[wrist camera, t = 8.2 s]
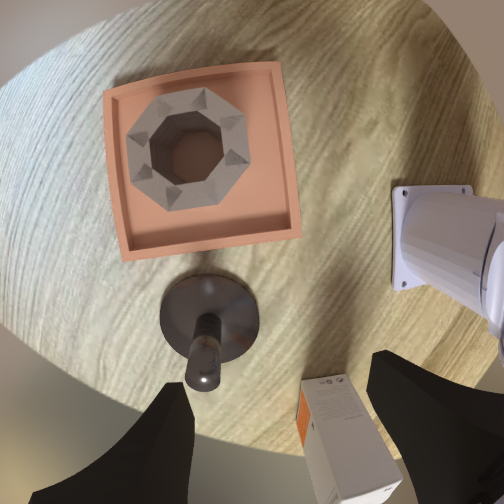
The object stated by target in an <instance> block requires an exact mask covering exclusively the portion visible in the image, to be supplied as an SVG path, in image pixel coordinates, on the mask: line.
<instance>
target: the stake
mask: <svg viewBox="0 0 504 504" xmlns="http://www.w3.org/2000/svg"><path fill="white" fill-rule="evenodd" d="M259 324H260V322H259V314H258V309H257V306H256V304H255V302H254V300H253V298H252V296H251V295H250V294H249V292H248V291H247V290H246V289H245V288H244V287H242V286H241V285H240V284H238V283H237V282H235V281H233V280H231V279H229V278H227V277H223V276H220V275H214V274H200V275H195V276H191V277H188V278H186V279H184V280H182V281H180V282H179V283H177V284H176V285H175V286H174V287H173V288H172V289H171V290H170V291H169V292H168V294H167V296H166V297H165V299H164V301H163V303H162V306H161V310H160V326H161V330H162V333H163V335H164V337H165V339H166V340H167V342H168V343H169V345H170V346H171V347H172V348H173V349H174V350H175V351H176V352H178V353H179V354H181V355H182V356H184V357H186V358H187V359H188V363H187V368H186V373H185V381H186V383H187V384H188V386H189V387H191V388H192V389H194V390H196V391H200V392H209V391H212V390H214V389H216V388H217V387H218V386H219V384H220V371H221V363H225V362H229V361H231V360H234V359H236V358H238V357H240V356H241V355H243V354H244V353H245V352H246V351H247V350H248V349H249V348H250V347H251V346H252V345H253V343H254V341H255V340H256V337H257V335H258V331H259Z"/></svg>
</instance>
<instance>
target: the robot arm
mask: <svg viewBox="0 0 504 504" xmlns="http://www.w3.org/2000/svg"><path fill="white" fill-rule="evenodd" d="M403 190H404V191H405V195H404V196H403ZM392 202H393V274H392V288H393V289H394V290H395V291H401V290H405V289H409V288H413V287H417V286H421V285H424V284H429V285H431V286H433V287H434V288H436V289H438V290H440V291H441V292H443V293H445V294H446V295H448V296H450V297H451V298H453V299H455V300H456V301H458V302H460V303H461V304H463V305H465V306H466V307H468V308H469V309H471V310H473V311H474V312H476V313H477V314H479V315H481V316H482V317H484V318H485V319H487V320H488V323H489V328H488V332H489V333H490V334H492V335H493V336H494V337H496V338H497V339H499V345H498V353H499V358H500V361H501V363H502V365H503V367H504V200H501V199H495V198H488V197H482V196H475V195H473V189H472V187H471V186H470V185H420V186H396V187H394V188H393V190H392ZM403 282H404V284H403V285H402V283H403ZM366 391H367V394H368V396H369V399H370V401H371V404H372V406H373V408H374V410H375V412H376V414H377V415H378V417H379V419H380V420H381V422H382V424H383V425H384V427H385V429H386V430H387V432H388V433H389V435H390V437H391V438H392V440H393V442H394V443H395V445H396V447H397V448H398V450H399V452H400V454H401V456H402V458H403V460H404V463H405V465H406V468H407V470H408V472H409V475H410V478H411V481H412V483H413V486H414V489H415V493H416V496H417V499H418V503H419V504H504V394H499V393H493V392H487V391H482V390H478V389H473V388H470V387H467V386H463V385H460V384H457V383H455V382H452V381H449V380H447V379H445V378H442V377H440V376H438V375H435V374H433V373H431V372H429V371H427V370H425V369H423V368H421V367H419V366H417V365H415V364H413V363H411V362H409V361H408V360H406V359H404V358H402V357H400V356H398V355H396V354H394V353H392V352H390V351H388V350H383V351H379V352H376V353H373V355H372V361H371V368H370V373H369V379H368V384H367V389H366ZM194 436H195V418H194V415H193V412H192V409H191V406H190V403H189V401H188V398H187V395H186V392H185V389H184V386H183V382H174V383H166V384H165V385H164V387H163V388H162V389H161V391H160V392H159V393H158V395H157V396H156V397H155V399H154V400H153V401H152V403H151V404H150V405H149V407H148V408H147V409H146V410H145V412H144V413H143V414H142V416H141V417H140V418H139V419H138V420H137V422H136V423H135V424H134V425H133V426H132V427H131V428H130V429H129V431H128V432H127V433H126V434H125V435H124V436H123V437H122V438H121V439H120V440H119V441H118V442H117V443H116V444H115V445H114V446H113V447H112V448H111V449H110V450H108V451H107V452H106V453H105V454H104V455H102V456H101V457H100V458H99V459H97V460H96V461H94V462H93V463H92V464H90V465H89V466H88V467H86V468H84V469H83V470H81V471H80V472H78V473H77V474H75V475H73V476H71V477H69V478H67V479H65V480H63V481H62V482H59V483H57V484H55V485H52V486H50V487H47V488H44V489H42V490H39V491H36V492H33V494H32V496H31V498H30V501H29V503H28V504H187V503H188V502H187V495H188V484H189V475H190V469H191V461H192V455H193V447H194Z"/></svg>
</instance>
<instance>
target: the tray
mask: <svg viewBox="0 0 504 504" xmlns="http://www.w3.org/2000/svg"><path fill="white" fill-rule="evenodd" d="M202 87H206V88H208V89H209V90H211V91H212V92H214V93H215V94H217V95H218V96H219V97H221V98H222V99H224V100H225V101H227V102H228V103H230V104H231V105H232V106H234V107H235V108H237V109H238V110H239V111H241V112H242V113H244V114H245V118H246V126H247V134H248V142H249V151H250V159H251V164H250V166H249V167H248V168H247V169H246V170H245V172H244V173H243V174H242V175H241V177H240V178H239V179H238V180H237V182H236V183H235V184H234V186H233V187H232V188H231V189H230V191H229V192H228V193H227V194H226V196H225V197H224V198H223V200H222V201H221V202H220V204H218V205H211V206H204V207H198V208H191V209H184V210H178V211H172V212H168V211H166V210H165V209H164V208H162V207H161V206H160V205H158V204H157V203H156V202H155V201H153V200H152V199H151V198H149V197H148V196H147V195H145V194H144V193H143V192H141V191H140V190H139V189H137V188H136V187H135V186H134V185H132V184H131V183H130V175H129V166H128V157H127V146H126V134H127V133H128V132H129V130H130V129H131V128H132V126H133V125H134V124H135V122H136V121H137V120H138V118H139V117H140V116H141V114H142V113H143V112H144V110H145V109H146V108H147V107H148V105H149V104H150V103H151V102H152V101H153V99H154V98H155V97H157V96H159V95H163V94H168V93H173V92H178V91H184V90H189V89H195V88H202ZM103 113H104V135H105V149H106V161H107V170H108V179H109V187H110V195H111V201H112V208H113V214H114V220H115V226H116V231H117V236H118V242H119V246H120V251H121V256H122V260H123V262H127V261H134V260H141V259H148V258H155V257H162V256H169V255H176V254H184V253H191V252H198V251H205V250H213V249H220V248H227V247H235V246H242V245H249V244H257V243H264V242H272V241H280V240H287V239H295V238H302V230H301V219H300V208H299V198H298V188H297V178H296V170H295V161H294V153H293V145H292V137H291V130H290V123H289V115H288V109H287V102H286V96H285V89H284V83H283V77H282V71H281V65H280V61H266V62H248V63H235V64H225V65H217V66H209V67H202V68H196V69H190V70H184V71H179V72H174V73H169V74H164V75H160V76H155V77H151V78H147V79H143V80H139V81H136V82H132V83H128V84H125V85H122V86H118V87H115V88H112V89H109V90H106V91H103ZM223 157H224V151H223V143H221V142H220V141H219V140H217V139H216V138H215V137H213V136H212V135H210V134H209V133H208V132H200V133H193V134H187V135H184V137H183V138H182V139H181V141H180V142H179V143H178V144H177V146H176V147H175V148H174V150H173V151H172V160H173V168H174V173H175V174H176V175H178V176H179V177H180V178H182V179H183V180H184V181H186V182H187V183H193V182H200V181H205V180H206V179H207V177H208V176H209V175H210V174H211V172H212V171H213V170H214V168H215V167H216V166H217V165H218V163H219V162H220V161H221V160H222V158H223Z"/></svg>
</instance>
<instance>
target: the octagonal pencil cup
mask: <svg viewBox="0 0 504 504" xmlns="http://www.w3.org/2000/svg"><path fill="white" fill-rule="evenodd" d="M200 132H208V133H209V134H210V135H212V136H213V137H215V138H216V139H217V140H219V141H220V142H221V143H223V151H224V157H223V158H222V160H221V161H220V162H219V163H218V165H217V166H216V167H215V168H214V170H213V171H212V172H211V174H210V175H209V176H208V177H207V179H206V180H205V181H200V182H193V183H187V182H186V181H184V180H183V179H182V178H180V177H179V176H178V175H176V174H175V173H174V168H173V160H172V151H173V150H174V148H175V147H176V146H177V144H178V143H179V142H180V141H181V139H182V138H183V137H184V135H187V134H193V133H200ZM126 146H127V157H128V166H129V175H130V183H131V184H132V185H134V186H135V187H136V188H137V189H139V190H140V191H141V192H143V193H144V194H145V195H147V196H148V197H149V198H151V199H152V200H153V201H155V202H156V203H157V204H158V205H160V206H161V207H162V208H164V209H165V210H166V211H168V212H172V211H178V210H184V209H191V208H198V207H204V206H211V205H218V204H220V202H221V201H222V200H223V198H224V197H225V196H226V194H227V193H228V192H229V191H230V189H231V188H232V187H233V186H234V184H235V183H236V182H237V180H238V179H239V178H240V177H241V175H242V174H243V173H244V172H245V170H246V169H247V168H248V167H249V166H250V164H251V159H250V151H249V142H248V134H247V126H246V118H245V114H244V113H242V112H241V111H239V110H238V109H237V108H235V107H234V106H232V105H231V104H230V103H228V102H227V101H225V100H224V99H222V98H221V97H219V96H218V95H217V94H215V93H214V92H212V91H211V90H209V89H208V88H206V87H202V88H195V89H189V90H184V91H178V92H173V93H168V94H163V95H159V96H157V97H155V98H154V99H153V101H152V102H151V103H150V104H149V105H148V107H147V108H146V109H145V110H144V112H143V113H142V114H141V116H140V117H139V118H138V120H137V121H136V122H135V124H134V125H133V126H132V128H131V129H130V130H129V132H128V133H127V134H126Z"/></svg>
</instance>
